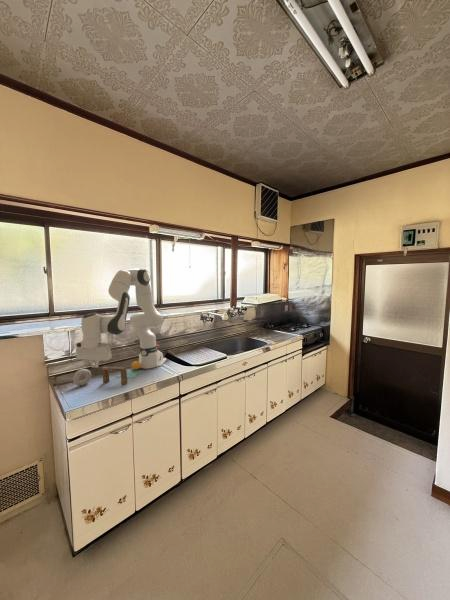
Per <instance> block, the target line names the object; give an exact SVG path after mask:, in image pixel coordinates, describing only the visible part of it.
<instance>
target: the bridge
mask: <svg viewBox="0 0 450 600" xmlns="http://www.w3.org/2000/svg"><path fill="white" fill-rule="evenodd" d="M127 370H128V369H127V367H124V366H107V365H105V366H103V367H101V373H102V375H101V376H102V384H108V383H110V374H109V371H112V372H113V371H114V372H120V374H121V377H120V384H121V385H122V386H125V385H127V384H128V378H127Z"/></svg>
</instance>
